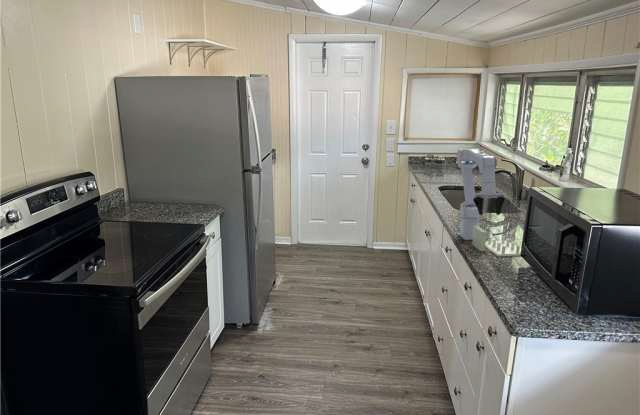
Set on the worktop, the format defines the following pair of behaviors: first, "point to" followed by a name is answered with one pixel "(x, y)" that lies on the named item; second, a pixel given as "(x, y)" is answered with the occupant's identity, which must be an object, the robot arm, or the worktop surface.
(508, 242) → the rack
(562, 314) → the worktop surface
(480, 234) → the pale green tall block
